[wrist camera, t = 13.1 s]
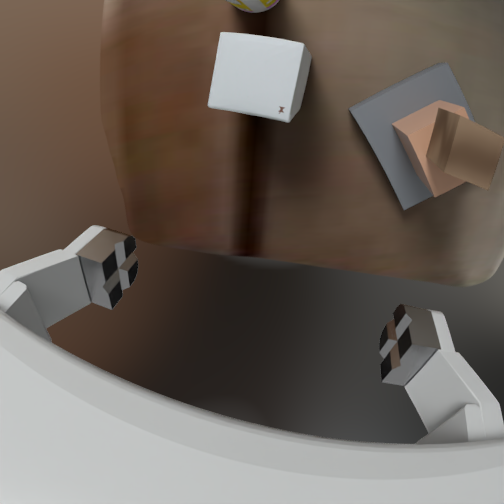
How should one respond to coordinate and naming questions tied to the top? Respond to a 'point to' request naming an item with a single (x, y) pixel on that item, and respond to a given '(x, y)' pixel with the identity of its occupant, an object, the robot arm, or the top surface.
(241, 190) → the top surface
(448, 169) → the walnut block
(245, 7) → the supplement bottle
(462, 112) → the terracotta block
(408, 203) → the base slab
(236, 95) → the supplement box
